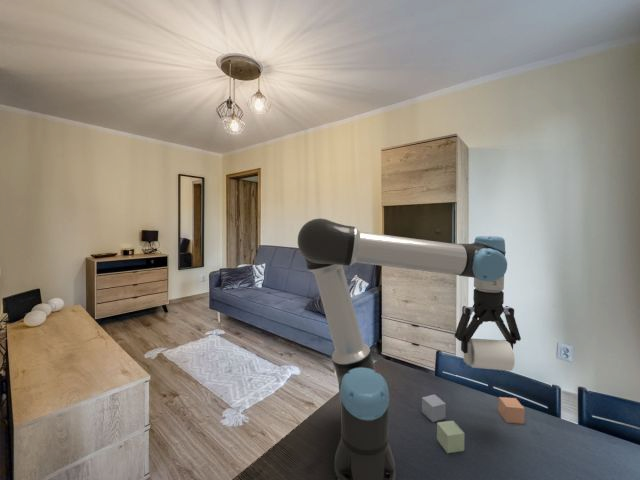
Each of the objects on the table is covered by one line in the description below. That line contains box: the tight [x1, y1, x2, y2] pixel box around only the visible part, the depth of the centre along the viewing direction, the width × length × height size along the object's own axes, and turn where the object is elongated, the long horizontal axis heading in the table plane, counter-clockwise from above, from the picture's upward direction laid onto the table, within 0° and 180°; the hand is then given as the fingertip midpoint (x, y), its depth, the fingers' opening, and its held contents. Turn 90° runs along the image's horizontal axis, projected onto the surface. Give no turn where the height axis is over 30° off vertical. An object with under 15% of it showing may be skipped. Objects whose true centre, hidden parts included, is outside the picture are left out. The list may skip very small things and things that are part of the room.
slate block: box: [421, 394, 447, 423], centre depth 89 cm, size 5×5×5 cm
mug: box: [469, 337, 516, 372], centre depth 82 cm, size 12×10×8 cm
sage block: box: [436, 420, 466, 454], centre depth 78 cm, size 5×5×5 cm
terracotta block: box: [498, 396, 526, 425], centre depth 88 cm, size 5×5×5 cm
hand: (486, 363), depth 82 cm, fingers closed on mug, 11 cm apart
